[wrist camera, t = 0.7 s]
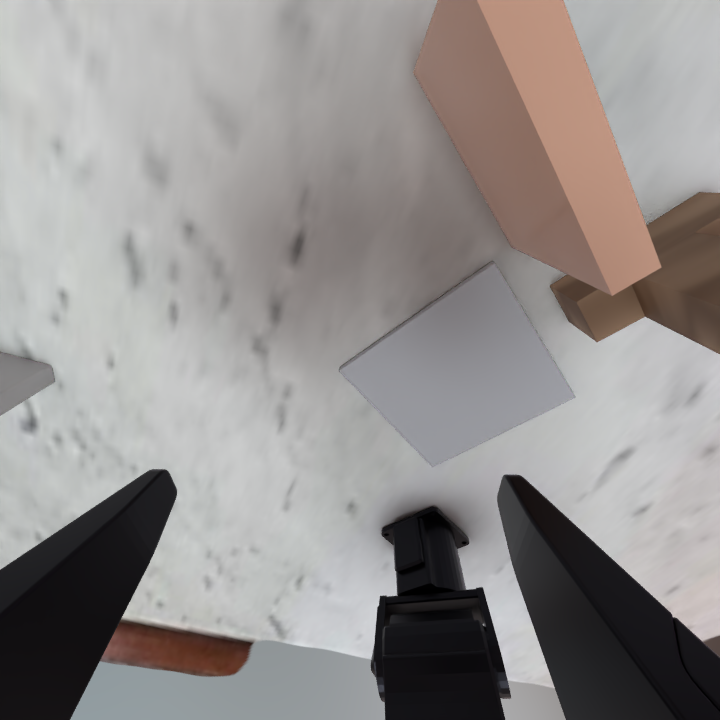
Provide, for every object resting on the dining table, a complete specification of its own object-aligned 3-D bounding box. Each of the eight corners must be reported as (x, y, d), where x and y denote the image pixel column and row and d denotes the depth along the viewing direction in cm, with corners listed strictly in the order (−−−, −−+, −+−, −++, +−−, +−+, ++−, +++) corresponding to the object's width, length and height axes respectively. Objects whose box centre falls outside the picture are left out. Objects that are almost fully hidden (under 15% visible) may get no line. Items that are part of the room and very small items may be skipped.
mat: (571, 393, 23) (575, 397, 23) (431, 462, 27) (432, 467, 27) (492, 261, 19) (495, 263, 18) (339, 367, 23) (339, 371, 22)
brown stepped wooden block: (712, 239, 18) (1036, 295, 9) (569, 321, 20) (711, 425, 12) (698, 192, 17) (1051, 204, 8) (549, 285, 19) (690, 371, 11)
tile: (539, 227, 18) (668, 263, 10) (511, 247, 18) (612, 295, 11) (444, 40, 14) (527, -131, 6) (413, 72, 15) (454, -50, 7)
